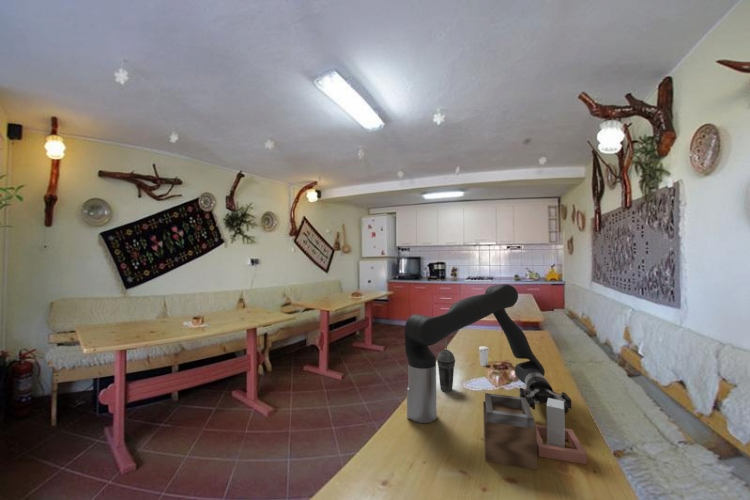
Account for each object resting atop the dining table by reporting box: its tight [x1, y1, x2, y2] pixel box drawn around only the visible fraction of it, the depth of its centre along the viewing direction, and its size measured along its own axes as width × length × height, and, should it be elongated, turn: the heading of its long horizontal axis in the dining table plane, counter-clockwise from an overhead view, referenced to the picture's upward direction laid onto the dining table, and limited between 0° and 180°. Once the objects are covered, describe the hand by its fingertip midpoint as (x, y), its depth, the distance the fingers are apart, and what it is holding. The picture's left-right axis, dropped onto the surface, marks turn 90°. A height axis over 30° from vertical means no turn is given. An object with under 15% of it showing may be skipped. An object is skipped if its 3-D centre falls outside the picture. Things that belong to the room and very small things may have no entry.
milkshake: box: [478, 345, 491, 367], centre depth 152 cm, size 5×5×10 cm
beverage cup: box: [436, 337, 456, 393], centre depth 124 cm, size 7×7×20 cm
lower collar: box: [534, 423, 588, 465], centre depth 86 cm, size 11×12×2 cm
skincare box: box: [546, 398, 566, 448], centre depth 86 cm, size 6×4×12 cm
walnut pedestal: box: [482, 392, 538, 471], centre depth 84 cm, size 12×12×12 cm
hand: (549, 408), depth 93 cm, fingers open, 8 cm apart
